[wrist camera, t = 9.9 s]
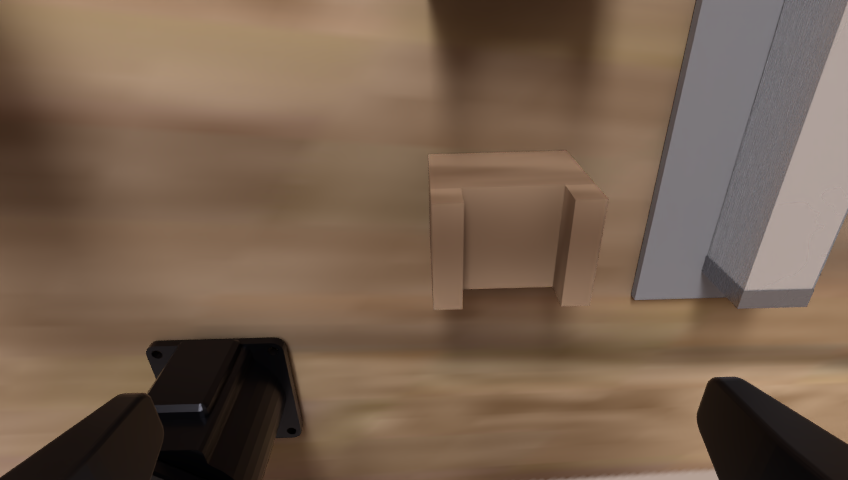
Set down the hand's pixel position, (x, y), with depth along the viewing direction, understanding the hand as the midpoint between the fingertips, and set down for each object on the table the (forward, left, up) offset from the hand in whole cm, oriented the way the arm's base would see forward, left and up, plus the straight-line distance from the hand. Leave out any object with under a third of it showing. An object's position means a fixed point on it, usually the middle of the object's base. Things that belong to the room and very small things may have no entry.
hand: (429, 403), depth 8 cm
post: (-2, -3, -12) cm, 13 cm away
